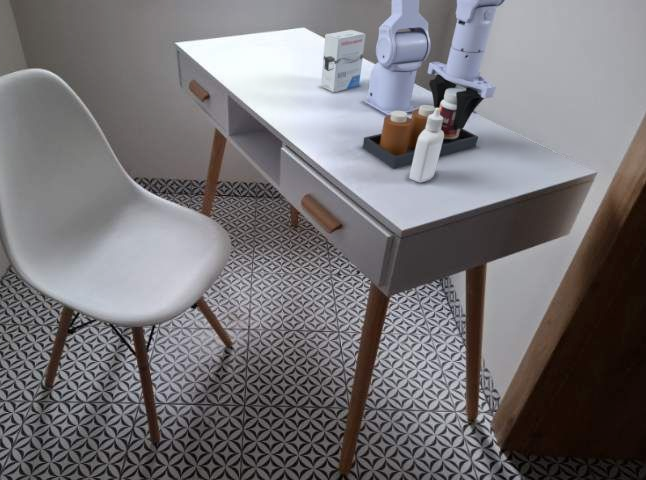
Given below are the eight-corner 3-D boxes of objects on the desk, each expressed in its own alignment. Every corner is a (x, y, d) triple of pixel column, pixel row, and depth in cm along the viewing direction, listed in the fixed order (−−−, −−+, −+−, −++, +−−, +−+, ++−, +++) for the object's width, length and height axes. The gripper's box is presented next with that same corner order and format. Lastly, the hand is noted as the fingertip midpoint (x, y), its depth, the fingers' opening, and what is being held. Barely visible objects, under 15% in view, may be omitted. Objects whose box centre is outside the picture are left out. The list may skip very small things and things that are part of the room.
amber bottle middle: (400, 142, 98) (407, 104, 94) (420, 137, 100) (428, 100, 96) (418, 152, 95) (426, 114, 90) (438, 147, 97) (447, 110, 92)
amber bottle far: (373, 148, 96) (379, 110, 91) (394, 143, 98) (401, 106, 93) (390, 159, 92) (397, 121, 88) (411, 154, 94) (419, 116, 90)
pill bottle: (428, 131, 101) (438, 88, 95) (448, 128, 102) (459, 86, 97) (442, 141, 97) (453, 97, 92) (463, 138, 99) (475, 94, 93)
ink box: (345, 80, 126) (351, 28, 119) (359, 86, 123) (367, 33, 116) (319, 86, 122) (324, 33, 114) (333, 93, 119) (339, 38, 112)
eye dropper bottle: (442, 180, 88) (460, 111, 81) (414, 184, 87) (430, 115, 79) (428, 168, 92) (445, 101, 84) (401, 172, 90) (415, 105, 82)
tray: (362, 147, 97) (363, 137, 96) (442, 129, 105) (444, 119, 104) (393, 168, 91) (395, 157, 90) (475, 147, 99) (478, 136, 98)
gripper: (516, 56, 86) (492, 133, 95) (454, 34, 96) (438, 106, 104) (486, 62, 83) (464, 140, 92) (426, 39, 93) (411, 112, 102)
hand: (448, 123), depth 98 cm, fingers closed on pill bottle, 5 cm apart
